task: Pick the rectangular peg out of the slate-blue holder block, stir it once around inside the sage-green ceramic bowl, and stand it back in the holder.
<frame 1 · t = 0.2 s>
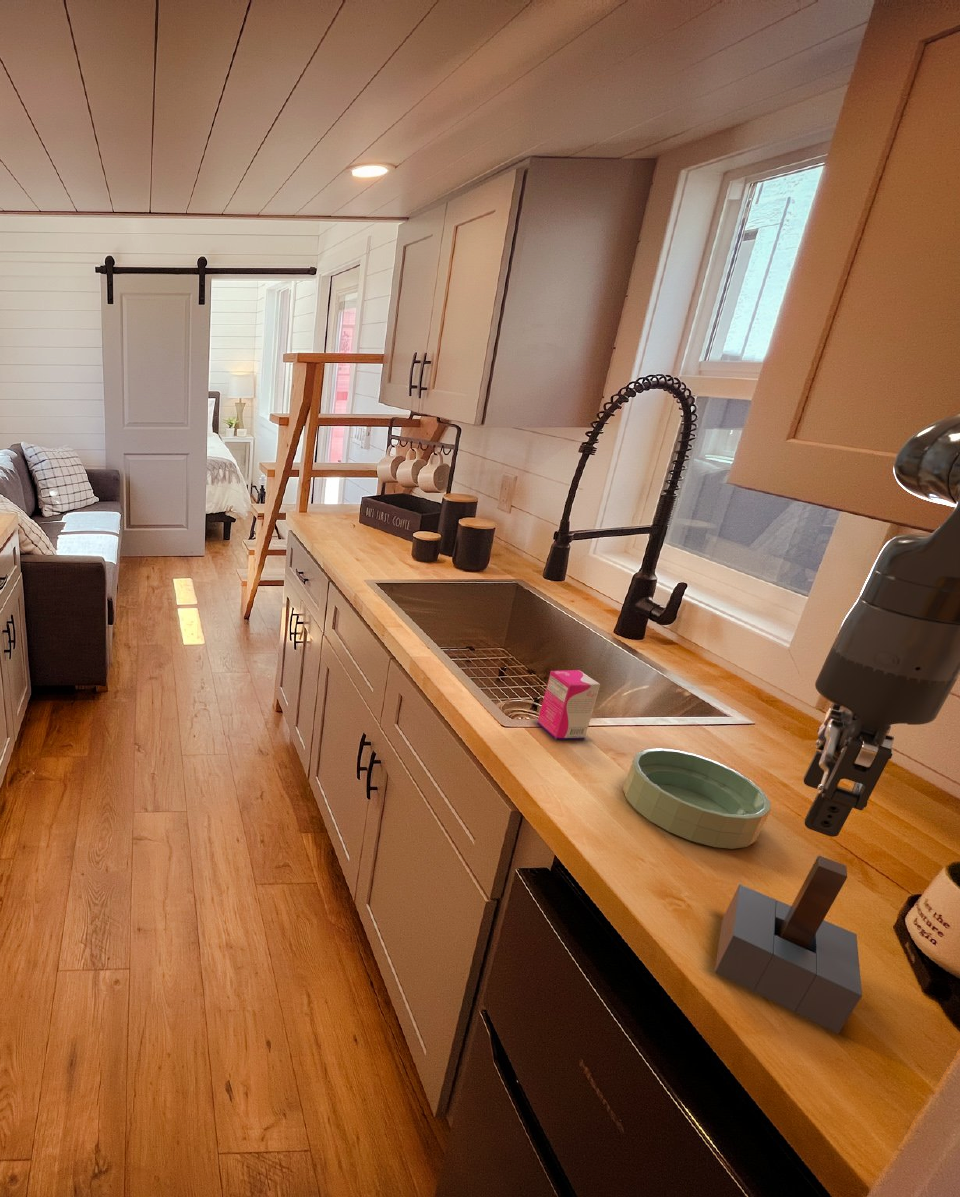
hand: (817, 807, 61), 26 cm above the table, tool pointing down, fingers open, 8 cm apart
rectangular peg: (802, 921, 71), in the holder
supplement box: (559, 732, 119), on the table
holder: (774, 972, 74), on the table
bowl: (685, 812, 99), on the table
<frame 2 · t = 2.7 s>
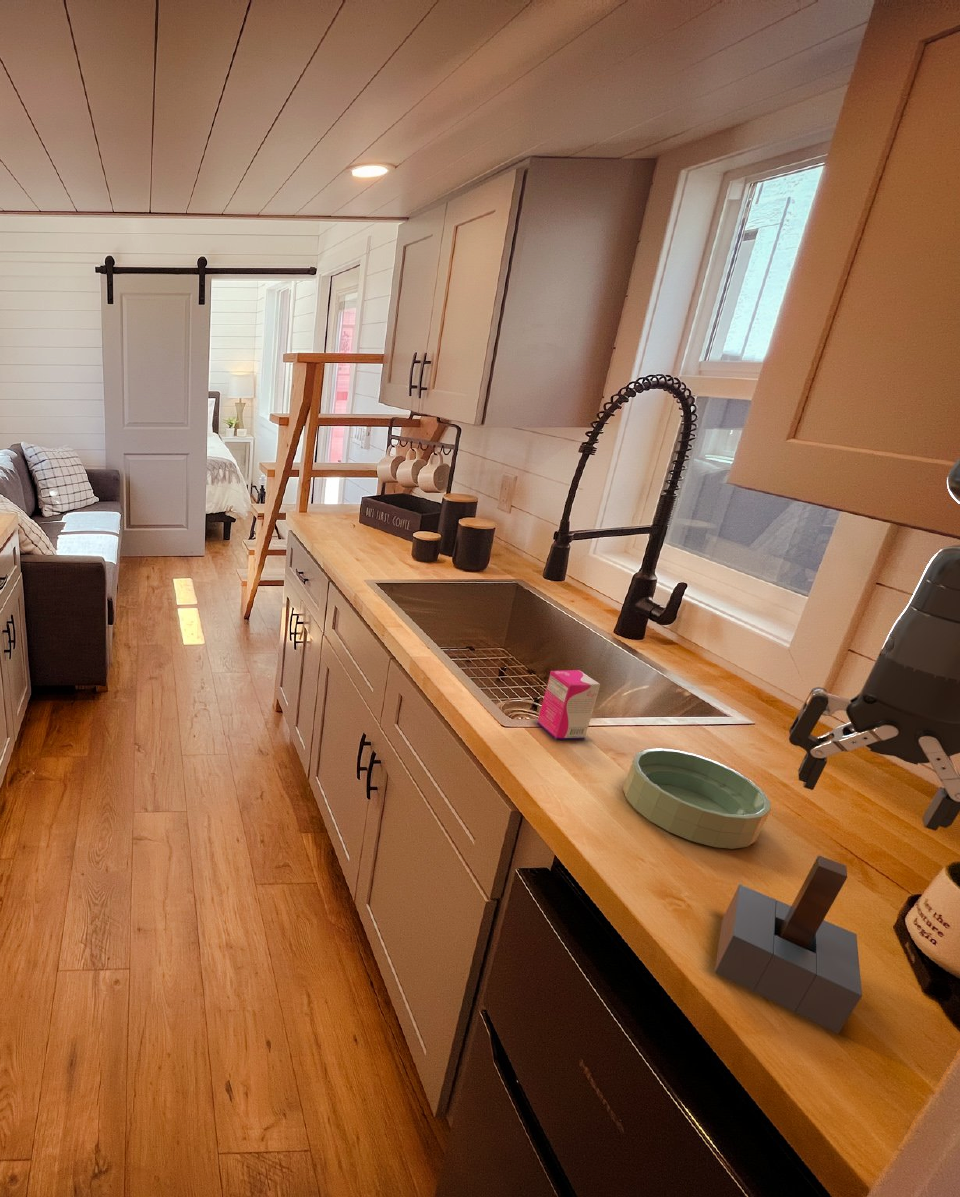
hand: (865, 804, 65), 24 cm above the table, tool pointing down, fingers open, 8 cm apart
nothing on the table moved.
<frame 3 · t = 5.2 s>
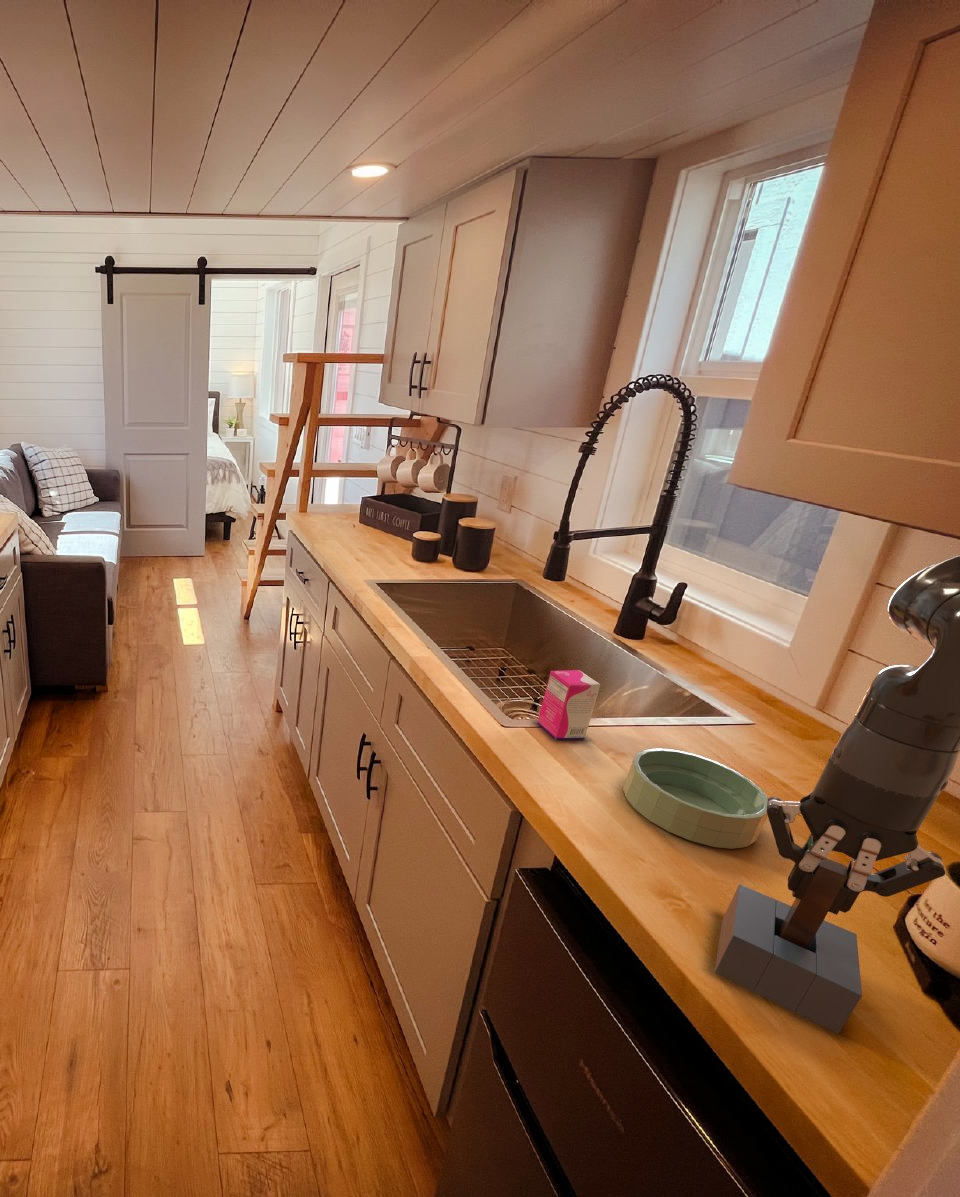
hand: (813, 900, 70), 11 cm above the table, tool pointing down, fingers closed on rectangular peg, 2 cm apart
rectangular peg: (802, 921, 71), in the holder, touching gripper
everything else where it was.
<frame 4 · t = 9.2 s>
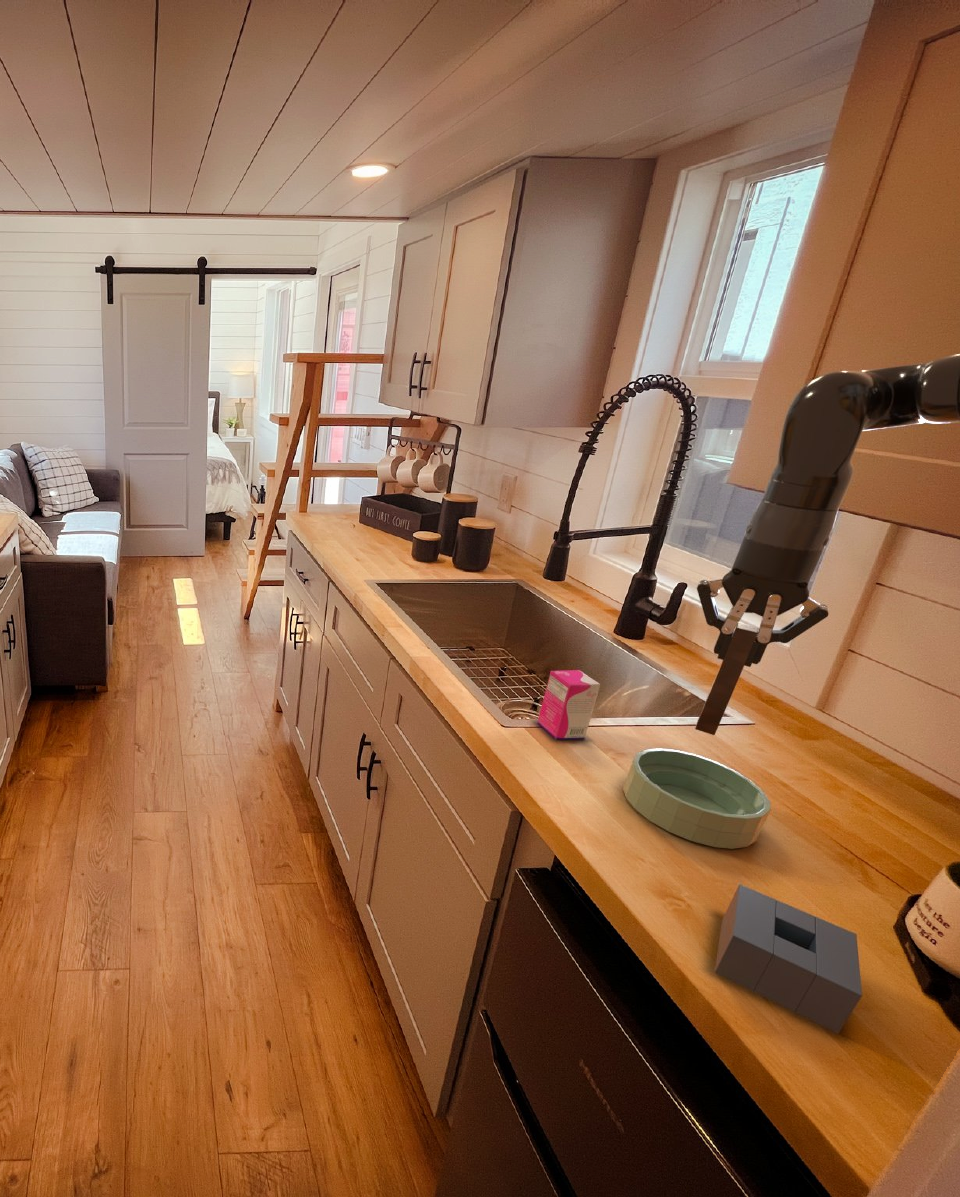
hand: (733, 660, 87), 27 cm above the table, tool pointing down, fingers closed on rectangular peg, 2 cm apart
rectangular peg: (725, 680, 89), point 24 cm above the table, touching gripper
everything else where it was.
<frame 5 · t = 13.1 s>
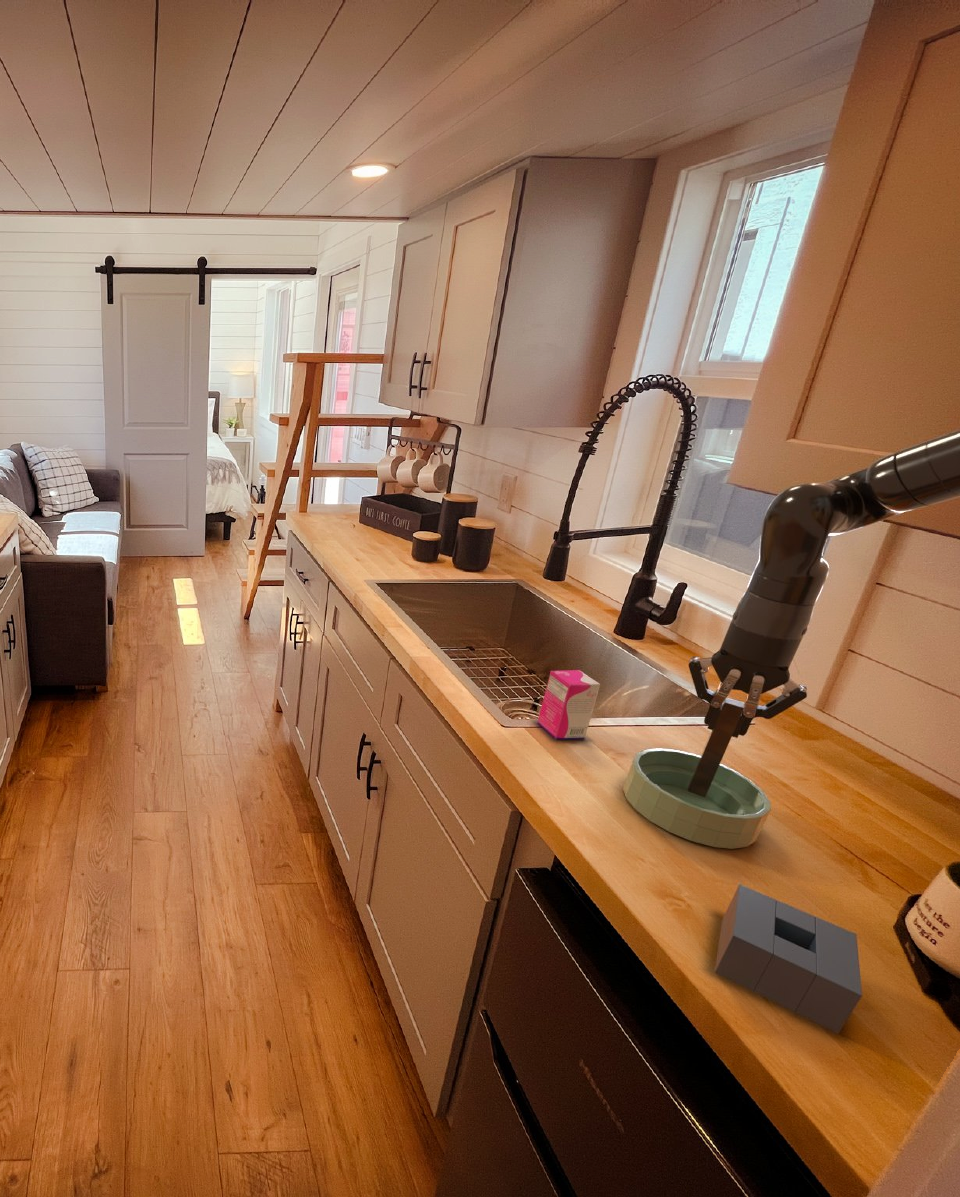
hand: (722, 730, 96), 14 cm above the table, tool pointing down, fingers closed on rectangular peg, 2 cm apart
rectangular peg: (715, 748, 97), point 11 cm above the table, touching gripper
everything else where it was.
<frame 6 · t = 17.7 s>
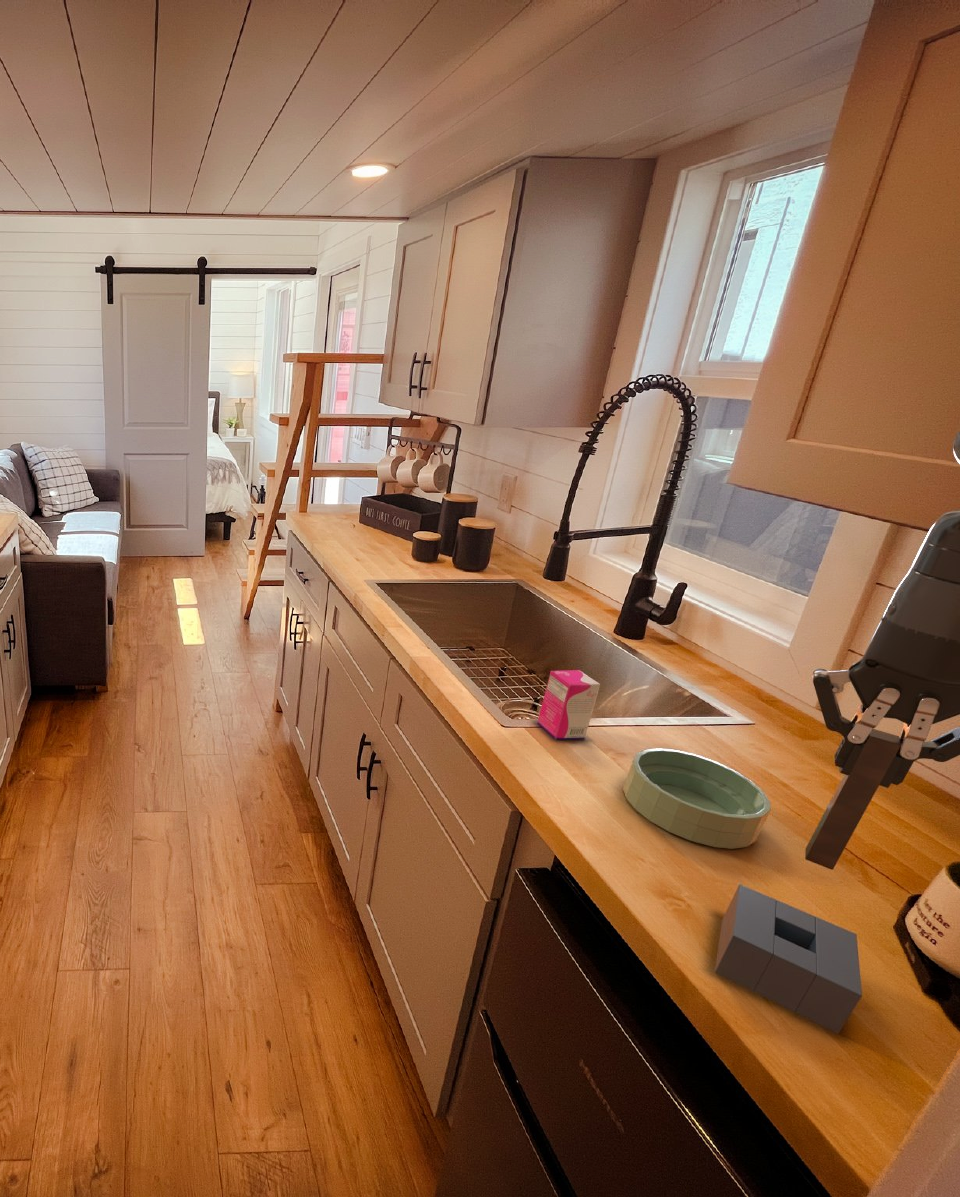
hand: (862, 776, 66), 26 cm above the table, tool pointing down, fingers closed on rectangular peg, 2 cm apart
rectangular peg: (850, 800, 67), point 23 cm above the table, touching gripper
everything else where it was.
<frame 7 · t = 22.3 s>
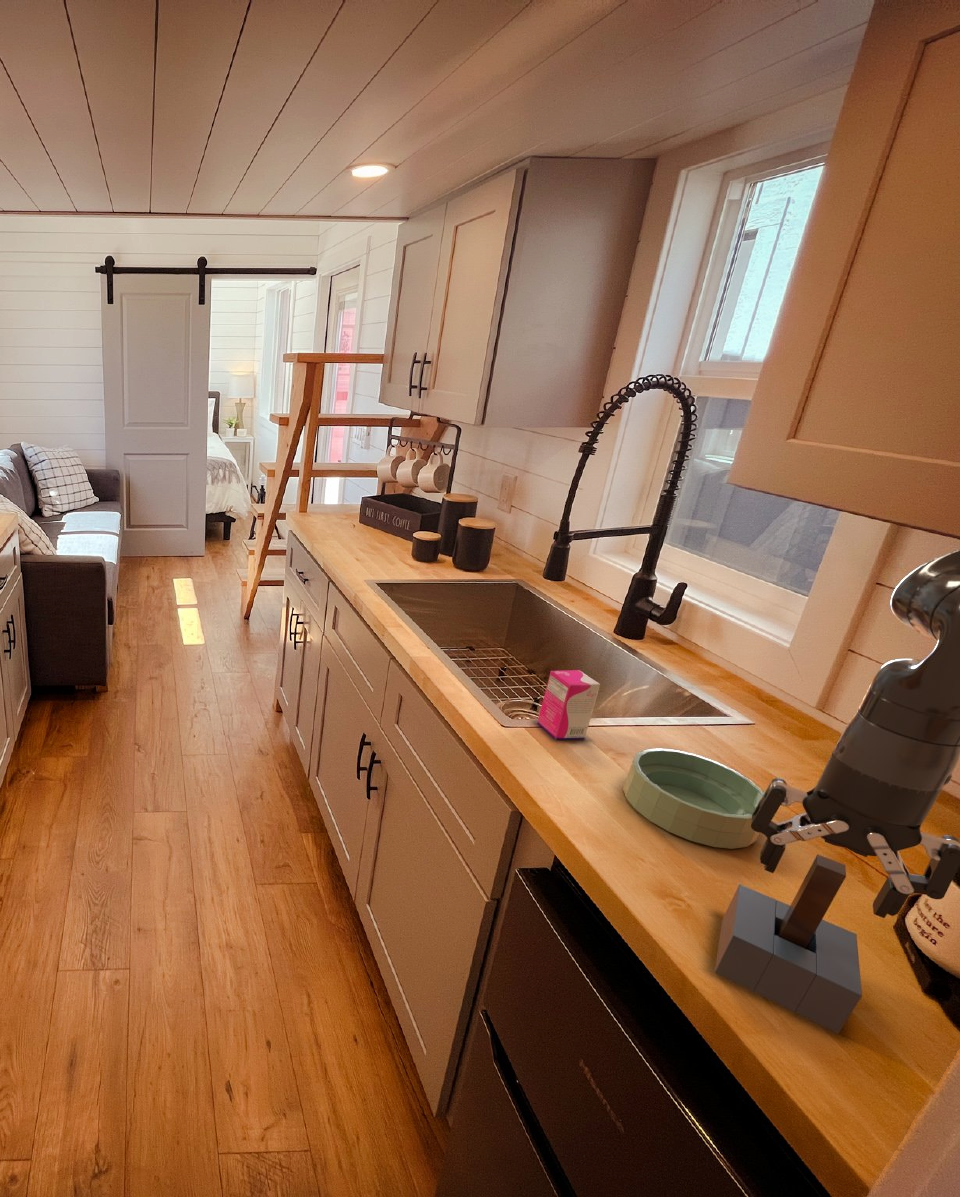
hand: (820, 888, 69), 13 cm above the table, tool pointing down, fingers open, 8 cm apart
rectangular peg: (801, 920, 71), in the holder
everything else where it was.
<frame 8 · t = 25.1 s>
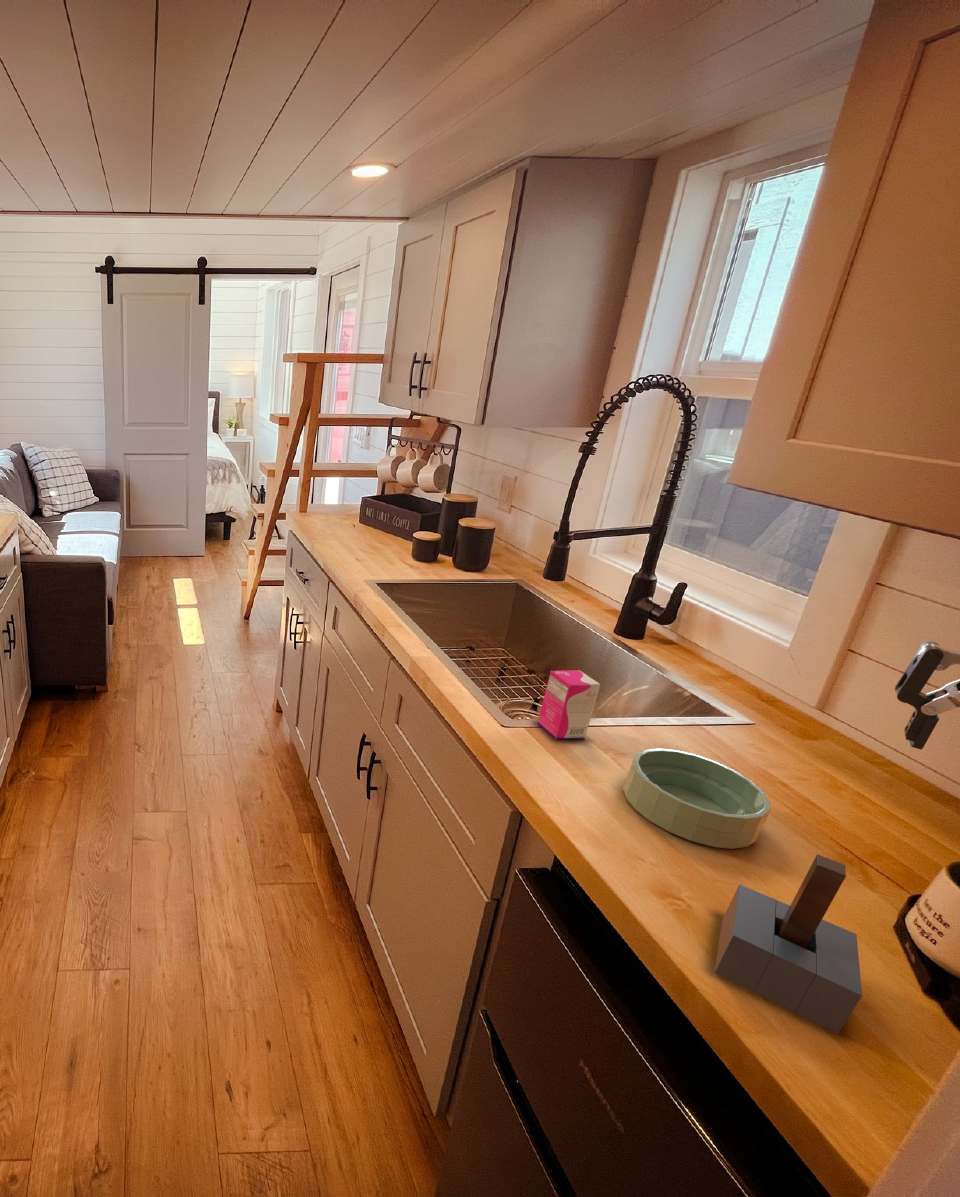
nothing on the table moved.
at the end: rectangular peg 0.1 cm off-centre in the holder, point 8.0 cm above the holder's base; rectangular peg tilted 0°; rectangular peg touching table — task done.
